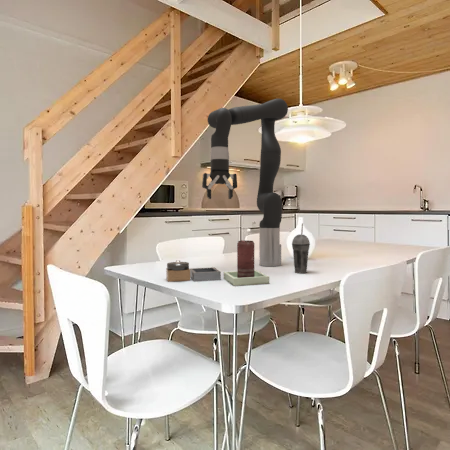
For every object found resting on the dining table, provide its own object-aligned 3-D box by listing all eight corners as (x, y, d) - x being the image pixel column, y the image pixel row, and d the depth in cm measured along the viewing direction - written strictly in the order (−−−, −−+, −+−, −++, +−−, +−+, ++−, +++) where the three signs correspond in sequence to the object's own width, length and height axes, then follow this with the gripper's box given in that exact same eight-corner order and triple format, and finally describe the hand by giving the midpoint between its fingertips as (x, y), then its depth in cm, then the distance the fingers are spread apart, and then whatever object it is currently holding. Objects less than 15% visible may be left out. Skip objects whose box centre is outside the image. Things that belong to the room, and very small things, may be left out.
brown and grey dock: (214, 274, 141) (214, 257, 141) (220, 279, 132) (220, 260, 131) (165, 277, 136) (165, 259, 136) (168, 282, 127) (168, 263, 126)
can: (244, 277, 133) (244, 239, 133) (257, 279, 129) (257, 240, 128) (233, 279, 129) (233, 240, 128) (246, 281, 125) (246, 241, 124)
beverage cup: (288, 272, 146) (288, 223, 145) (297, 270, 151) (297, 222, 150) (303, 274, 141) (304, 224, 140) (313, 272, 146) (313, 223, 145)
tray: (256, 276, 137) (256, 270, 137) (269, 283, 124) (269, 276, 124) (223, 278, 134) (223, 272, 133) (233, 286, 121) (233, 278, 121)
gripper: (233, 160, 151) (233, 199, 152) (200, 159, 148) (201, 199, 148) (239, 158, 144) (239, 198, 145) (204, 157, 140) (204, 198, 141)
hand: (219, 199), depth 147 cm, fingers open, 8 cm apart
